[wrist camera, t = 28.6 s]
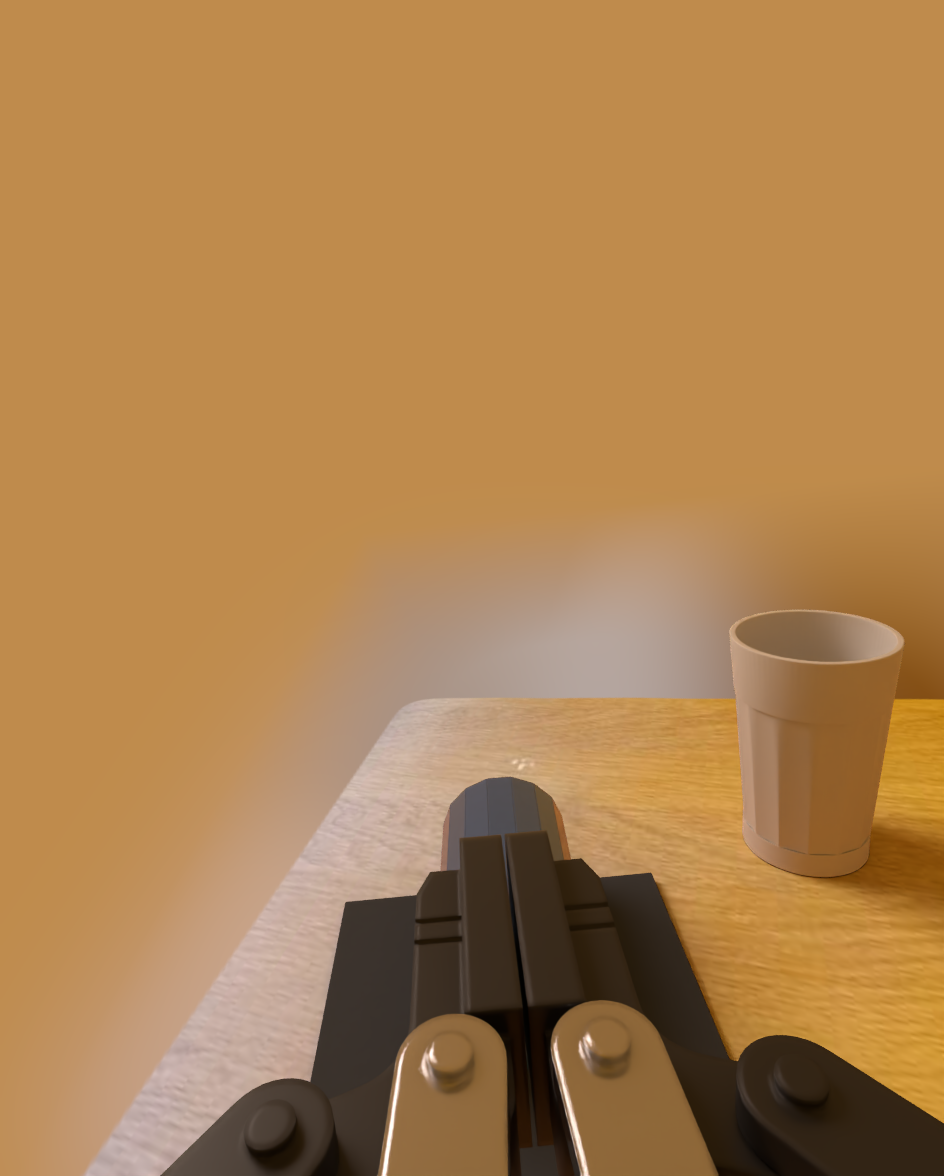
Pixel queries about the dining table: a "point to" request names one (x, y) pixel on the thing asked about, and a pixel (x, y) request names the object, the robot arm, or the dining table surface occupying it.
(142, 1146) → the dining table surface
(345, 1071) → the mat
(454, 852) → the tumbler
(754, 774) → the cup
